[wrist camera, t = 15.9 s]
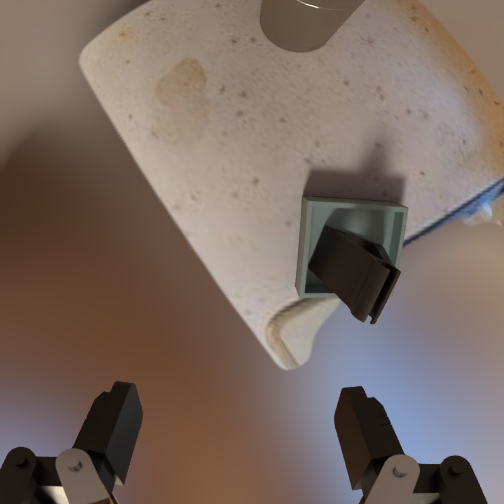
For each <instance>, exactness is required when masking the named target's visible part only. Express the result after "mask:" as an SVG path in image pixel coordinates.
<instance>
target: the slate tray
mask: <svg viewBox="0 0 504 504" xmlns="http://www.w3.org/2000/svg"><path fill="white" fill-rule="evenodd" d="M407 215H408V207H405V206H403V205H401V204H399V203H397V202H386V201H374V200H361V199H347V198H331V197H314V196H302V208H301V222H300V236H299V248H298V260H297V272H296V283H295V287H296V290H297V293H298V295H299V298H334V297H338V296H337V295H336V294H335V293H334V292H333V291H332V290H330V289H329V288H328V287H327V286H326V285H325V284H324V283H323V282H322V281H321V280H320V279H319V278H318V277H317V276H316V275H315V274H314V273H312V272H311V271H310V270H309V269H308V266H309V264H310V261H311V259H312V257H313V254H314V252H315V249H316V247H317V244H318V242H319V239H320V237H321V234H322V232H323V229H324V227H325V225H326V226H329V227H332V228H335V229H338V230H340V231H343V232H346V233H349V234H352V235H354V236H357V237H360V238H363V239H365V240H368V241H371V242H373V243H376V244H379V245H381V246H383V247H384V248H385V250H386V252H387V254H388V256H389V258H390V260H391V262H392V264H393V265H394V266H395V267H396V268H397V269H399V264H400V257H401V253H402V247H403V241H404V235H405V229H406V222H407ZM394 288H395V286H394ZM394 288H393V290H392V292H391V294H390V296H393V292H394Z"/></svg>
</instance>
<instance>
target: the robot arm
mask: <svg viewBox="0 0 504 504" xmlns="http://www.w3.org/2000/svg"><path fill="white" fill-rule="evenodd" d="M364 1H365V0H262V4H261V12H260V24H261V28H262V30H263V32H264V34H265V35H266V36H267V38H268V39H269V40H270V41H271V42H273V43H274V44H275V45H277V46H279V47H280V48H283V49H285V50H288V51H293V52H309V51H313V50H316V49H318V48H320V47H321V46H323V45H324V44H325V43H326V42H327V41H328V40H329V39H330V38H331V37H332V35H333V34H334V33H335V32H336V31H337V30H338V29H339V28H340V27H341V26H342V25H343V23H344V22H345V21H346V20H347V19H348V18H349V17H350V16H351V15H352V14H353V12H354V11H355V10H356V9H357V8H358V7H359V6H360V5H361V4H362V3H363V2H364ZM142 419H143V411H142V406H141V403H140V399H139V396H138V392H137V388H136V385H135V384H134V383H128V382H121V381H116V382H115V383H114V385H113V387H112V389H111V391H110V392H103V393H101V394H100V395H99V396H98V397H97V398H96V399H95V400H94V402H93V404H92V406H91V409H90V411H89V413H88V415H87V419H85V421H84V423H83V426H82V428H81V430H80V432H79V434H78V436H77V439H76V441H75V443H74V445H73V447H72V448H71V449H67V450H65V451H63V452H61V453H60V454H59V456H58V457H37V456H35V454H34V453H33V452H32V451H31V450H30V449H28V448H25V447H17V448H14V449H12V450H11V451H10V452H9V453H8V454H7V456H6V459H5V460H4V463H3V465H2V467H1V469H0V504H118V502H117V500H116V498H115V496H114V494H113V492H112V491H113V487H114V484H117V485H121V486H123V485H124V483H125V479H126V476H127V472H128V468H129V465H130V461H131V458H132V454H133V451H134V447H135V444H136V440H137V437H138V433H139V430H140V427H141V424H142ZM334 424H335V429H336V432H337V436H338V439H339V443H340V446H341V450H342V453H343V457H344V460H345V464H346V468H347V471H348V475H349V479H350V483H351V487H352V490H358V489H362V492H363V496H362V498H361V500H360V502H359V504H487V501H486V499H485V496H484V494H483V492H482V489H481V487H480V485H479V483H478V480H477V478H476V476H475V474H474V471H473V469H472V467H471V465H470V463H469V462H468V461H467V460H466V459H465V458H463V457H461V456H456V455H455V456H450V457H447V458H445V459H444V461H443V462H442V463H441V464H419V463H417V461H416V460H415V459H413V458H411V457H410V456H407V455H405V454H404V452H403V450H402V447H401V445H400V443H399V440H398V438H397V436H396V434H395V431H394V429H393V427H392V425H391V423H390V420H389V418H388V417H387V414H386V412H385V409H384V407H383V405H382V404H381V403H380V402H379V401H378V400H377V399H375V398H374V397H371V398H367V396H366V393H365V391H364V389H363V387H362V386H357V387H347V388H343V389H342V391H341V394H340V397H339V401H338V404H337V408H336V411H335V415H334Z"/></svg>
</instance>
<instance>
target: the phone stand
mask: <svg viewBox="0 0 504 504" xmlns="http://www.w3.org/2000/svg"><path fill="white" fill-rule="evenodd" d="M308 269H309V270H310V271H311V272H312V273H314V274H315V275H316V276H317V277H318V278H319V279H320V280H321V281H322V282H323V283H324V284H325V285H326V286H327V287H328V288H329V289H330V290H332V291H333V292H334V293H335V294H336V295H337V296H338V297H339V298H340V299H341V300H342V301H343V302H344V303H345V304H346V305H347V306H348V307H349V309H350V311H351V313H352V315H353V316H354V317H356V318H357V319H358V320H360V321H362V322H365V320H366V318H367V316H368V315H369V316H371V317H372V320H371V322H370V324H375V323H376V321H377V319H378V317H379V315H380V313H381V311H382V309H383V308H384V306H385V304H386V302H387V300H388V298H389V296H390V294H391V292H392V290H393V288H394V286H395V284H396V282H397V280H398V278H399V275H400V273H401V272H400V271H399V270H398V269H397V268H396V267H395V266H394V265H393V264H392V262H391V260H390V258H389V256H388V254H387V252H386V250H385V248H384V247H383V246H381V245H379V244H376V243H373V242H371V241H368V240H365V239H363V238H360V237H357V236H354V235H352V234H349V233H346V232H343V231H340V230H338V229H335V228H332V227H329V226H326V225H325V227H324V229H323V232H322V234H321V237H320V239H319V242H318V244H317V247H316V249H315V252H314V254H313V257H312V259H311V261H310V264H309V266H308Z"/></svg>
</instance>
